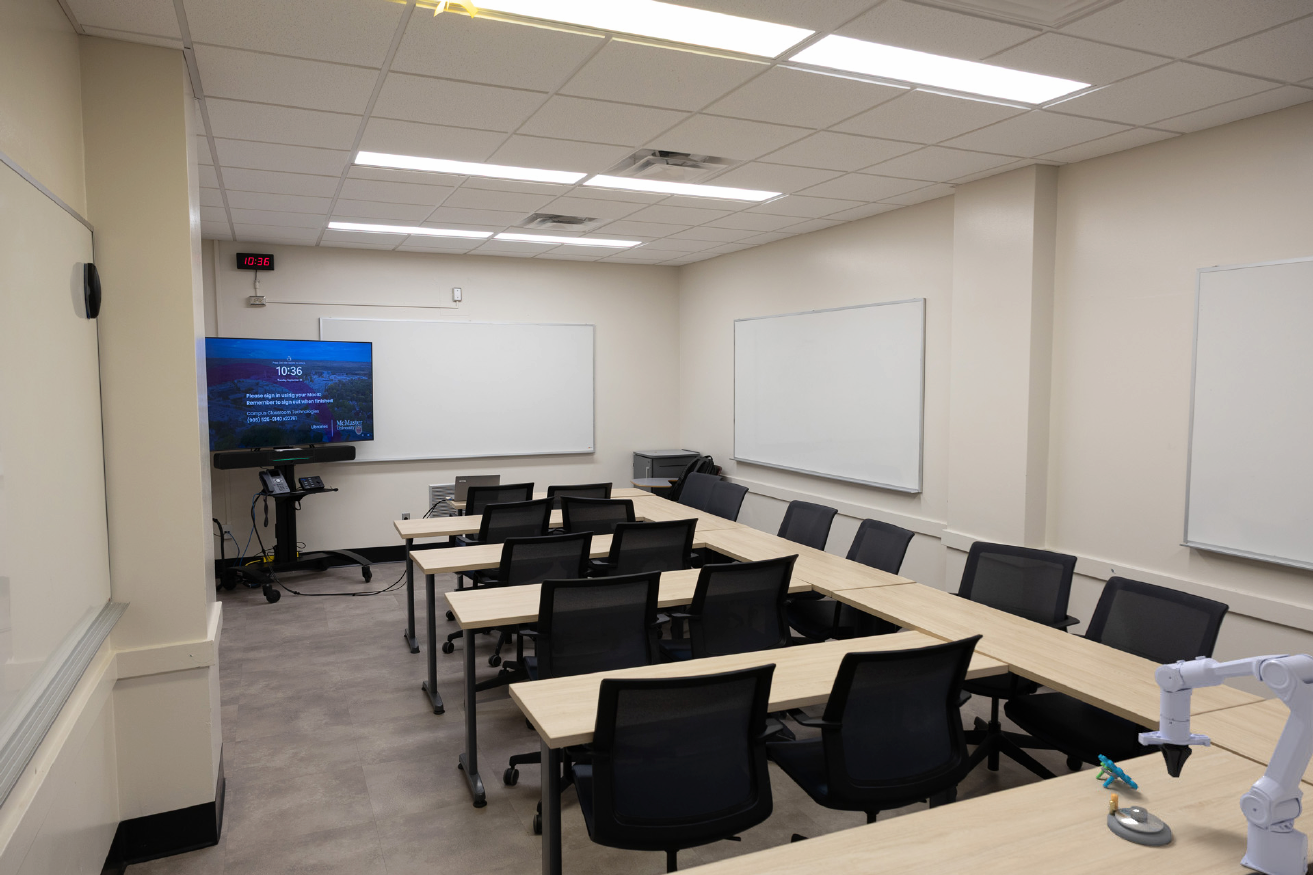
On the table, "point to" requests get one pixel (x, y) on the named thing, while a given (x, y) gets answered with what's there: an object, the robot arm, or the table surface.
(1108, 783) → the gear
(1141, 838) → the post base
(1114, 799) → the flange
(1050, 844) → the table surface
